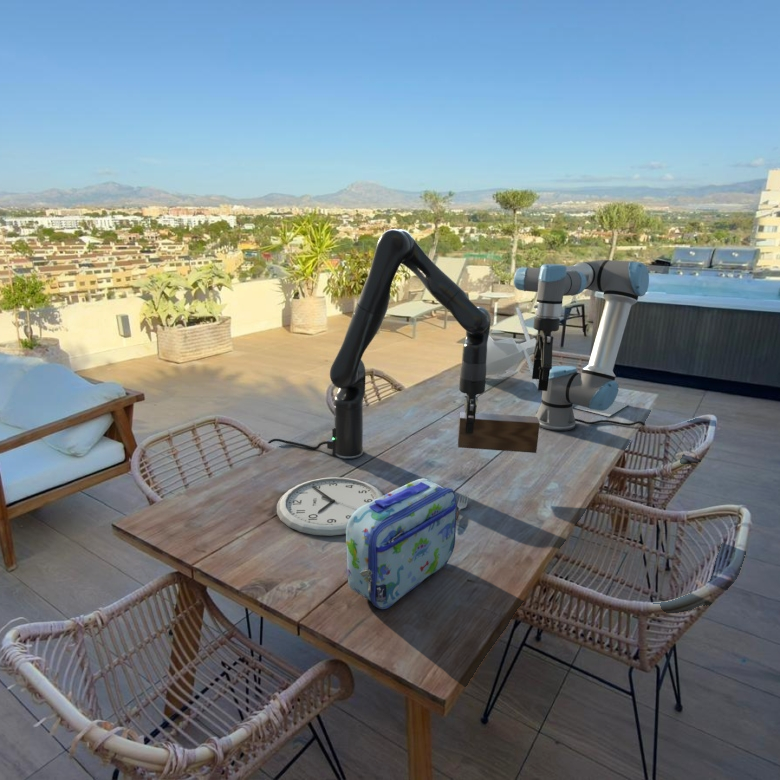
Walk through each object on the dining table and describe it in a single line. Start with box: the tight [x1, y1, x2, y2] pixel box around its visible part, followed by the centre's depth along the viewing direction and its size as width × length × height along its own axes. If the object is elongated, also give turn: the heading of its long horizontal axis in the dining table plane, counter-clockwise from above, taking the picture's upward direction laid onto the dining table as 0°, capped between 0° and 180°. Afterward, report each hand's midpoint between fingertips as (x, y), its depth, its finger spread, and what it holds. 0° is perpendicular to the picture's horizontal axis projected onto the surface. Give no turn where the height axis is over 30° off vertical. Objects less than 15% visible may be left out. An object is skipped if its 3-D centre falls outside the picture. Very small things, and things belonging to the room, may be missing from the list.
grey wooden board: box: [573, 401, 629, 418], centre depth 226 cm, size 21×1×15 cm
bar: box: [457, 411, 540, 454], centre depth 158 cm, size 23×6×10 cm, turn 83°
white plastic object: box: [486, 306, 539, 389], centre depth 259 cm, size 37×45×31 cm
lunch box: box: [345, 477, 457, 610], centre depth 110 cm, size 26×11×21 cm, turn 134°
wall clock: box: [276, 476, 385, 537], centre depth 142 cm, size 30×2×30 cm
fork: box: [456, 494, 470, 521], centre depth 139 cm, size 3×16×2 cm, turn 160°
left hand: (468, 429), depth 159 cm, fingers closed on bar, 5 cm apart
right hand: (539, 384), depth 164 cm, fingers open, 13 cm apart
